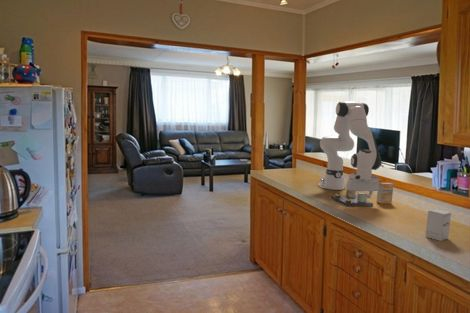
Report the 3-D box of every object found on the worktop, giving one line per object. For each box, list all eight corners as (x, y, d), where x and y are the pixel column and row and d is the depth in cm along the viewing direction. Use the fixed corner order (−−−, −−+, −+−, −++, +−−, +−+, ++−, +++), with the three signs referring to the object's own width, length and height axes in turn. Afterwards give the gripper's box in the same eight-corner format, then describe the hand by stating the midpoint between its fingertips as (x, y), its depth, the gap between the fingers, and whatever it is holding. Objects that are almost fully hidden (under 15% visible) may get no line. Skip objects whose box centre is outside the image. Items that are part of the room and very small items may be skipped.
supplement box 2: (440, 241, 175) (443, 214, 174) (424, 236, 181) (427, 210, 180) (448, 239, 179) (451, 212, 178) (432, 234, 185) (435, 208, 184)
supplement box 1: (380, 204, 246) (382, 183, 245) (376, 202, 251) (378, 182, 250) (392, 203, 249) (393, 183, 247) (387, 202, 253) (389, 182, 252)
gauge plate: (331, 198, 255) (331, 192, 254) (356, 198, 259) (356, 192, 258) (345, 206, 235) (346, 199, 235) (372, 206, 239) (373, 199, 239)
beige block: (346, 196, 256) (346, 188, 255) (351, 196, 257) (352, 188, 256) (349, 197, 252) (349, 189, 251) (354, 197, 253) (355, 189, 252)
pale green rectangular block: (357, 200, 242) (357, 192, 242) (362, 200, 243) (363, 192, 242) (360, 202, 238) (361, 194, 238) (366, 202, 239) (367, 194, 239)
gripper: (376, 175, 244) (374, 196, 246) (346, 174, 240) (344, 196, 242) (381, 176, 238) (379, 199, 240) (351, 176, 234) (349, 199, 235)
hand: (361, 197), depth 241 cm, fingers open, 8 cm apart
